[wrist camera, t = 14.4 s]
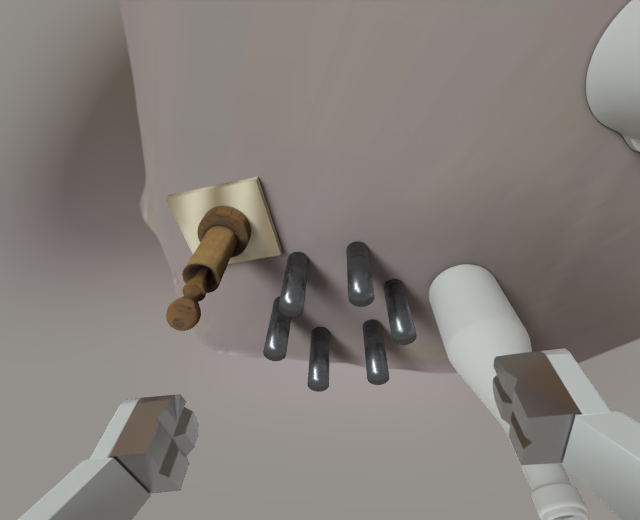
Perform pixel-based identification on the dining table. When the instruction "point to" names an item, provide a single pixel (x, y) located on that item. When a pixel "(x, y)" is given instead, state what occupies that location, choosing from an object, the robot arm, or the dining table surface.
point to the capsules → (320, 336)
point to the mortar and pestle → (209, 262)
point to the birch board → (238, 196)
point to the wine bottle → (478, 366)
